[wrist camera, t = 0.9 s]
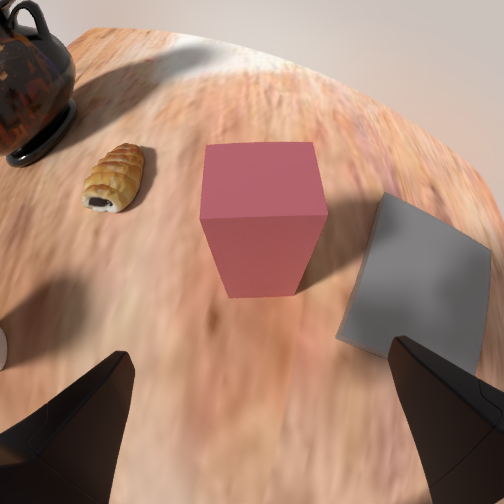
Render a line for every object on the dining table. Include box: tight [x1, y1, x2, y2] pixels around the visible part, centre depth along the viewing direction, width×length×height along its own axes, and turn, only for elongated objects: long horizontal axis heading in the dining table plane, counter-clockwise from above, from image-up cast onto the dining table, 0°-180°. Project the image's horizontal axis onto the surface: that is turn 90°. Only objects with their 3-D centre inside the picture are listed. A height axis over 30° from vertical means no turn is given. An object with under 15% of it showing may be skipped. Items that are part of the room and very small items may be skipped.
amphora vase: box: [0, 0, 78, 167], centre depth 23 cm, size 22×22×28 cm
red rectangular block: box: [200, 142, 328, 298], centre depth 19 cm, size 4×6×13 cm
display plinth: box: [335, 192, 491, 376], centre depth 22 cm, size 15×15×2 cm
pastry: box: [82, 143, 144, 213], centre depth 28 cm, size 9×7×4 cm
